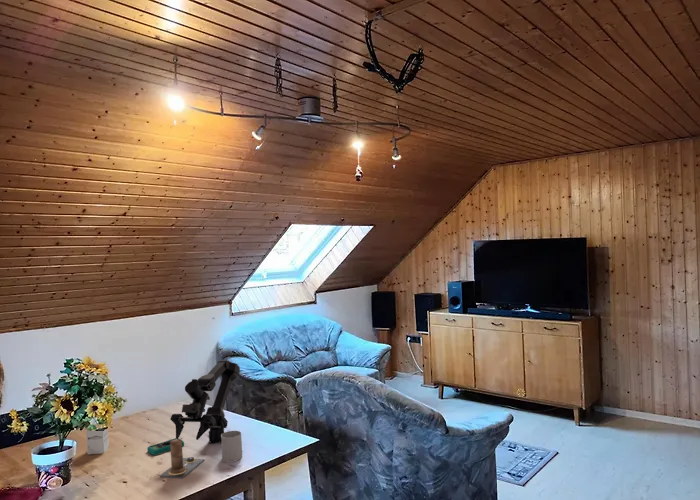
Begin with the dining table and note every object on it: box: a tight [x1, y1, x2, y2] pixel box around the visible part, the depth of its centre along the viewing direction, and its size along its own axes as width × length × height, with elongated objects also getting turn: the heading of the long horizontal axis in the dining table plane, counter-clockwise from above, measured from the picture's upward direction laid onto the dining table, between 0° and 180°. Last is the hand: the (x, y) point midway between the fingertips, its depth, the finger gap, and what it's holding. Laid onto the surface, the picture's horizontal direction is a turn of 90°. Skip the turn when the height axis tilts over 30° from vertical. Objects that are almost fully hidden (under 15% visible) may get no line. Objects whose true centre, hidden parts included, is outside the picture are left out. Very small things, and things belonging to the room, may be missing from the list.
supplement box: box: [85, 428, 110, 456], centre depth 240 cm, size 7×7×13 cm
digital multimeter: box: [147, 437, 185, 456], centre depth 239 cm, size 7×15×3 cm, turn 134°
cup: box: [220, 430, 243, 463], centre depth 225 cm, size 8×8×10 cm
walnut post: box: [169, 438, 185, 474], centre depth 213 cm, size 6×6×12 cm
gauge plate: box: [159, 456, 205, 479], centre depth 216 cm, size 17×10×2 cm, turn 167°
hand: (186, 439), depth 220 cm, fingers open, 9 cm apart
